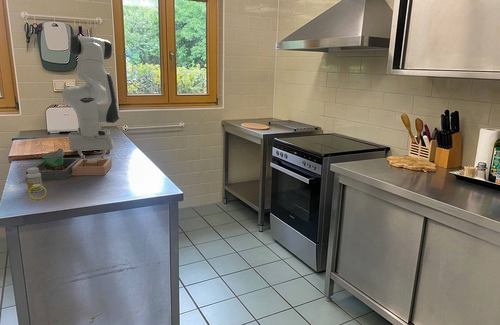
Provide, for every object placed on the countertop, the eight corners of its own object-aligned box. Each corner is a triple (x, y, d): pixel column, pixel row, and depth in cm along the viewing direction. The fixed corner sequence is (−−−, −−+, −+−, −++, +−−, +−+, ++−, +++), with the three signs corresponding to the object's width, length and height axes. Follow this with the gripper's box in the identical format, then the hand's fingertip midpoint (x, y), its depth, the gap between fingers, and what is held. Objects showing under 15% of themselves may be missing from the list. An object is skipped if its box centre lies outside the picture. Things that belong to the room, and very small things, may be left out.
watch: (30, 201, 144) (27, 187, 143) (30, 199, 147) (27, 185, 145) (47, 198, 147) (44, 184, 145) (47, 196, 149) (44, 182, 148)
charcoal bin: (46, 166, 192) (45, 158, 191) (81, 165, 194) (80, 158, 193) (26, 180, 169) (25, 171, 168) (66, 179, 171) (65, 171, 170)
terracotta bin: (82, 166, 192) (81, 159, 191) (112, 166, 195) (111, 158, 194) (72, 175, 177) (71, 167, 176) (105, 174, 179) (104, 166, 178)
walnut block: (89, 169, 188) (88, 160, 187) (99, 169, 189) (98, 159, 187) (86, 172, 183) (85, 162, 182) (97, 172, 184) (96, 162, 183)
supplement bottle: (34, 188, 159) (31, 166, 156) (45, 188, 158) (43, 167, 156) (25, 192, 154) (22, 169, 151) (37, 193, 153) (34, 170, 150)
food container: (54, 174, 178) (52, 154, 175) (43, 173, 179) (41, 153, 176) (71, 167, 190) (69, 149, 187) (61, 167, 191) (59, 148, 188)
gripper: (65, 132, 176) (69, 160, 180) (110, 132, 179) (112, 159, 183) (70, 130, 182) (72, 157, 186) (113, 130, 185) (115, 156, 189)
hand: (93, 158), depth 184 cm, fingers open, 8 cm apart
